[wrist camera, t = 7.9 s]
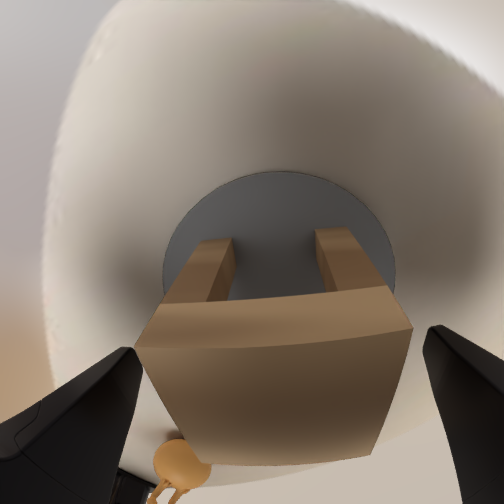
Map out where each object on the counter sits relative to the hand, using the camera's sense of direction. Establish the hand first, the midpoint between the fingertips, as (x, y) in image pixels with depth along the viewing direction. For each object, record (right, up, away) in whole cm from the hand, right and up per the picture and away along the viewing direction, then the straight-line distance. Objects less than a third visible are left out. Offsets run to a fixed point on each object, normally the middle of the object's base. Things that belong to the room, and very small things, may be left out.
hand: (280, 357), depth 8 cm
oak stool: (0, +1, +3) cm, 3 cm away
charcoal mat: (0, +1, +3) cm, 4 cm away
